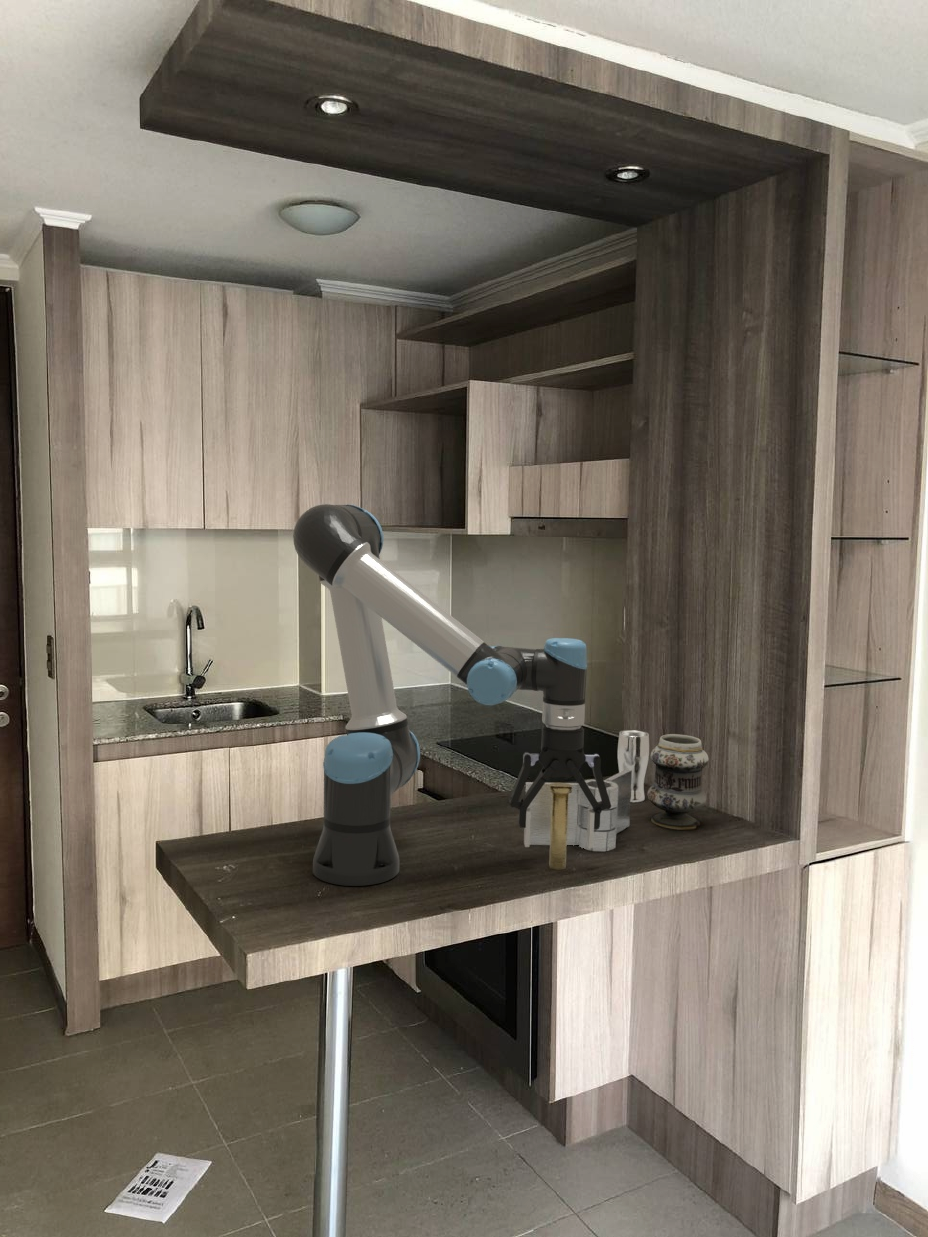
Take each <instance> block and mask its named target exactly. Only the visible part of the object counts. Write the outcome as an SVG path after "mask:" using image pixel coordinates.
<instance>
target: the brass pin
mask: <svg viewBox="0 0 928 1237" xmlns="http://www.w3.org/2000/svg"><path fill="white" fill-rule="evenodd" d="M550 783H551V784H550V786H549V791H550V792H552V805H551V830H550V845H549V859H548V860H549V861H548V867H549V868H550V869H553V870H564V869H566V866H567V848H568V847H567V824H568V800H569V793H571V792H572V785H570V784H567V783H568V782H550Z"/></svg>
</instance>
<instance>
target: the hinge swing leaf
mask: <svg viewBox="0 0 928 1237" xmlns="http://www.w3.org/2000/svg"><path fill="white" fill-rule="evenodd" d="M631 778H632V770H627V769H626V770H624V771H622V772H620V773H619V772H618V773H615V774H613V775H612V776H610V777H608V778H606V779H604V780H607V781H611V782H614V783H616V784H617V785H618V805H617V807H614V808H611V809H604V810H602V812H601V813H600V827H599V829H594V830H597V831H598V830H611V829H613V828H615V827H616V835H618V833H620V832H622V831H624V830H625V829H626V828H627V829H628V828H629V827H630V816H631V812H630V811H631V802H630V798H631ZM588 809H591V808H588V807H584V806H582V805H581V804H578V814H577V825H578V824H579V825H580V826H581V827H583V828H587V823H588Z"/></svg>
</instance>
